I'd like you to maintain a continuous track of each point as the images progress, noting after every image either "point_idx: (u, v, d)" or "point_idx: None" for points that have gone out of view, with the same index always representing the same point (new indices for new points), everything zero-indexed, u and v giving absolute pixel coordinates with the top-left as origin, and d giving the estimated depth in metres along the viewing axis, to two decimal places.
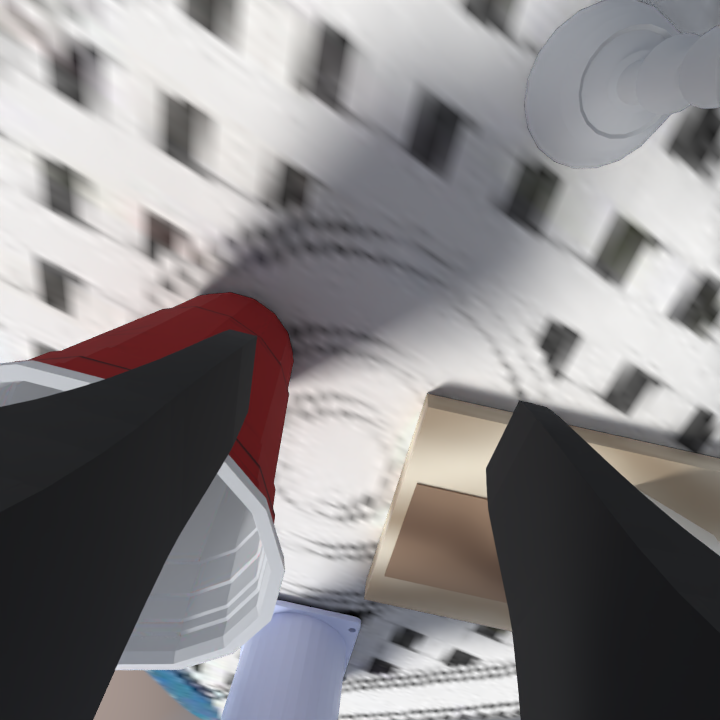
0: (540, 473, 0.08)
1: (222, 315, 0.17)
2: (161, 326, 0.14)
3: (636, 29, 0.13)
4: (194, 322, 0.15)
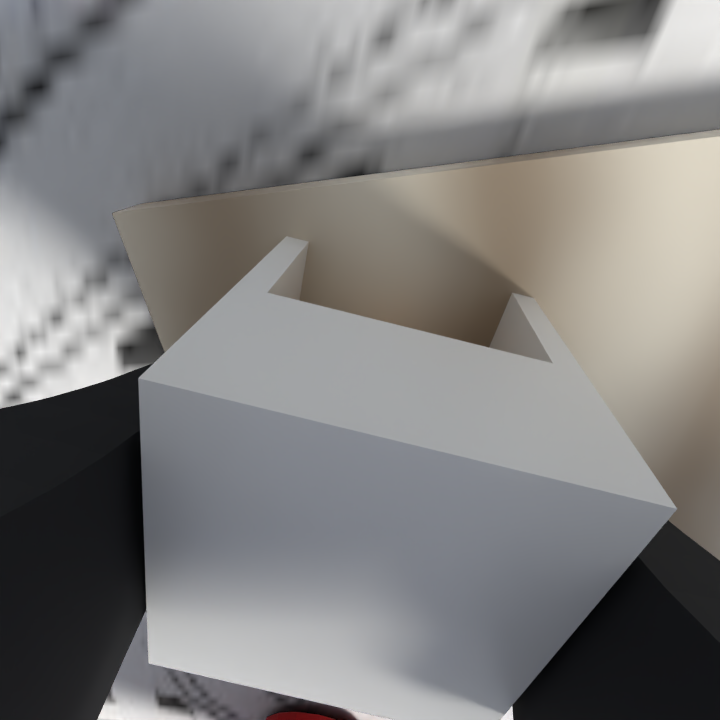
0: None
1: None
2: None
3: None
4: None
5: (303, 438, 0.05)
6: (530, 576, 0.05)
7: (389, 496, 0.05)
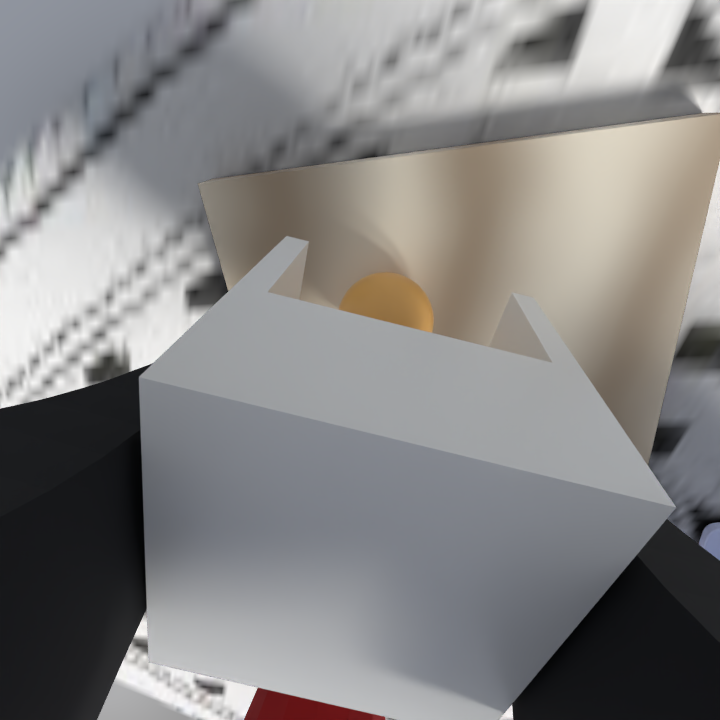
0: None
1: None
2: None
3: None
4: None
5: (303, 437, 0.05)
6: (530, 575, 0.05)
7: (389, 495, 0.05)
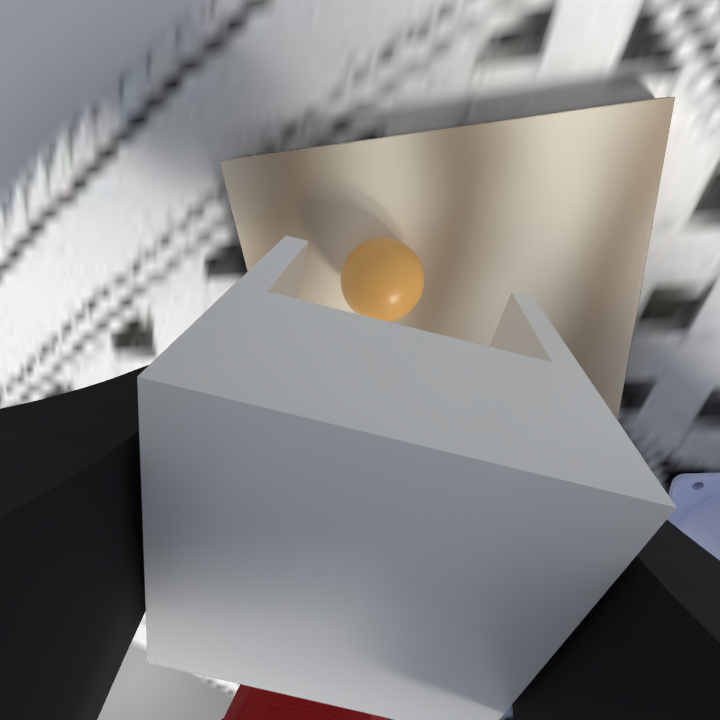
0: None
1: None
2: None
3: None
4: None
5: (302, 437, 0.05)
6: (529, 575, 0.05)
7: (388, 495, 0.05)
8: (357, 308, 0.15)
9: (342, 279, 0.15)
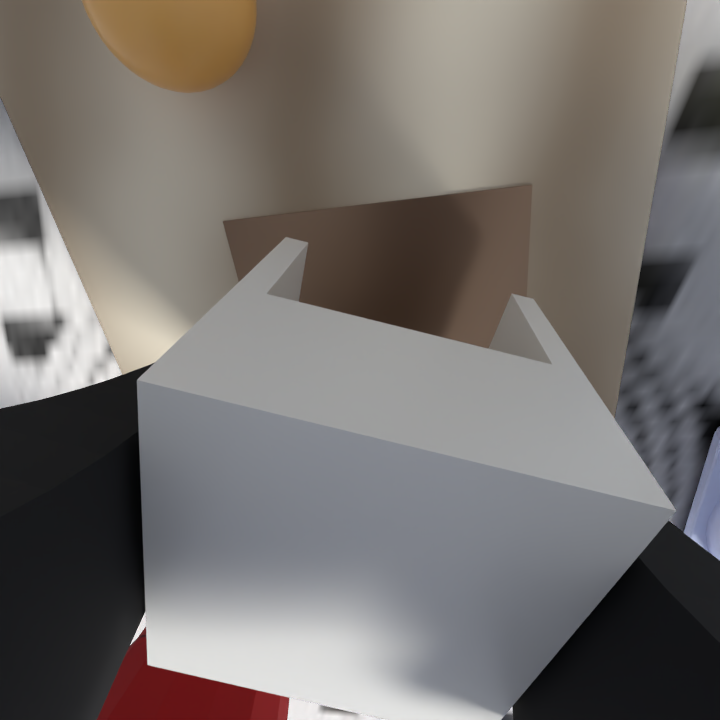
0: None
1: None
2: None
3: None
4: None
5: (302, 440, 0.05)
6: (529, 578, 0.05)
7: (388, 498, 0.05)
8: (104, 31, 0.07)
9: None
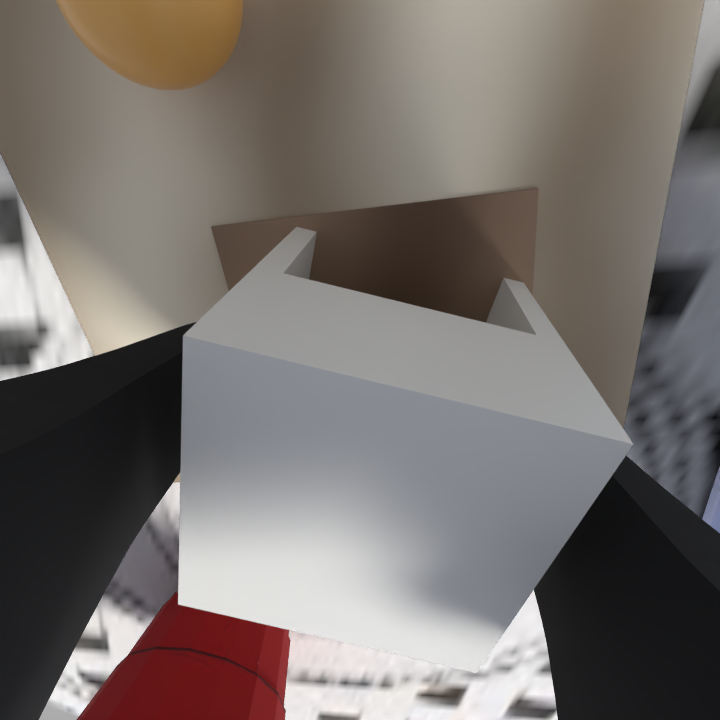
0: None
1: None
2: None
3: None
4: None
5: (320, 387, 0.05)
6: (513, 510, 0.06)
7: (392, 438, 0.06)
8: (76, 23, 0.07)
9: None
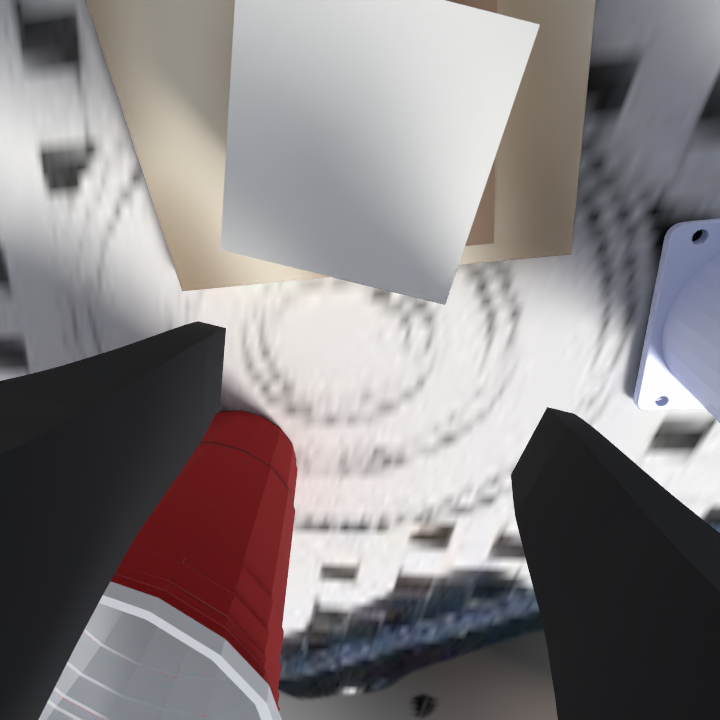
0: (573, 481, 0.08)
1: None
2: None
3: None
4: None
5: None
6: (463, 105, 0.09)
7: (378, 37, 0.08)
8: None
9: None
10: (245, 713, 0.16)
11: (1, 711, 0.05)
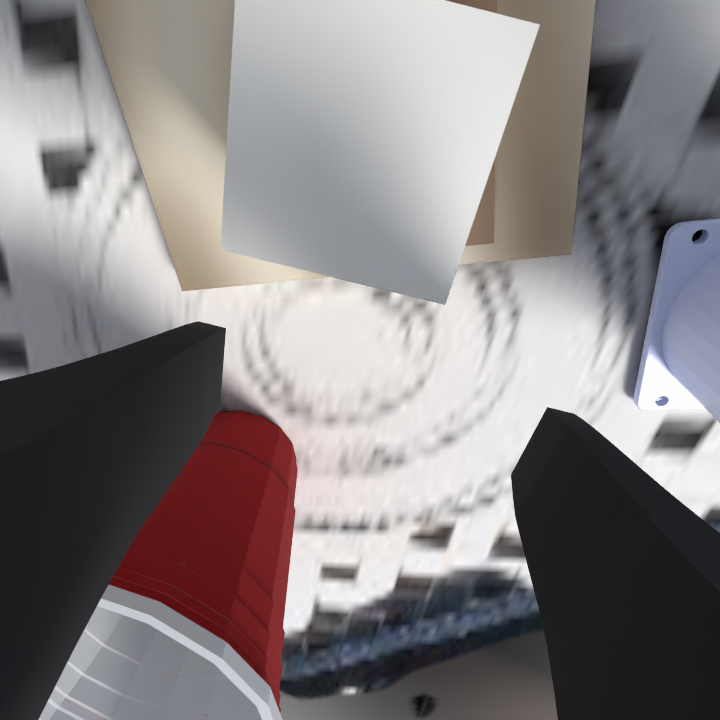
0: (573, 481, 0.08)
1: None
2: None
3: None
4: None
5: None
6: (463, 105, 0.09)
7: (378, 37, 0.08)
8: None
9: None
10: (247, 713, 0.16)
11: (1, 711, 0.05)
